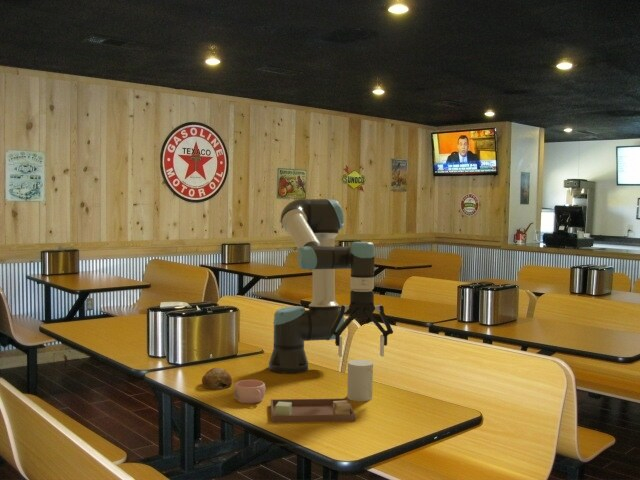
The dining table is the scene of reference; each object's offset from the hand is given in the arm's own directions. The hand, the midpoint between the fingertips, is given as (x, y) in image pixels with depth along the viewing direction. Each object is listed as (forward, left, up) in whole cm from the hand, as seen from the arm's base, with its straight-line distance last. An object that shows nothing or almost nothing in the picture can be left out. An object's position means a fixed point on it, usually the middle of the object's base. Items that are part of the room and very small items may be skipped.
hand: (361, 355), depth 215 cm
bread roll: (-18, -47, -15) cm, 53 cm away
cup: (0, 0, -15) cm, 15 cm away
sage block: (+19, -26, -14) cm, 35 cm away
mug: (+2, -35, -15) cm, 38 cm away
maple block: (+18, -9, -14) cm, 24 cm away
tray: (+15, -17, -14) cm, 27 cm away
